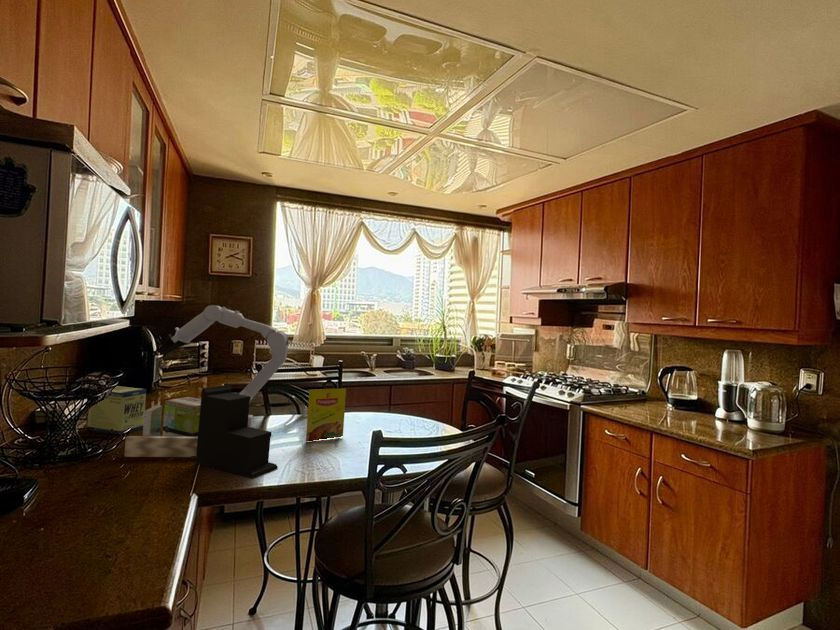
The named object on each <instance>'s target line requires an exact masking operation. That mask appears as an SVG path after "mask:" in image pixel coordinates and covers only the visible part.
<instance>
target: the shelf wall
mask: <svg viewBox="0 0 840 630" xmlns="http://www.w3.org/2000/svg"><path fill="white" fill-rule="evenodd" d="M197 440H198V437H181V436H163V435H160V436H143V435H128V436H126V437H125V443H124V444H125V445H124V457H125V458H129V457H130V458H135V457H136V458H142V457H143V458H192V457H191V456H196V452H197Z"/></svg>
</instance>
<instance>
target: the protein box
mask: <svg viewBox="0 0 840 630" xmlns="http://www.w3.org/2000/svg"><path fill="white" fill-rule="evenodd" d="M115 386H116V387H115V388H114V389H113V390H112V392H111V393H110V394H109V395H108V397H107V398H105V399H104V400H102V401H100V402H98V403H97V404H95V405H93V406H92V407H91V408H90V409H89V408H88V415H87V423H86V425H87V426H86V429H87V428H94V429H96V430H92V431H91V432H96V433H104V434H109V433H110V432H112V435H116V434H117V433H121V432H123V431H125V430H127V429H128V428H130V427H132V429H131V431H130V433H133V432H138V431H140V430H143V425H144V412H145V411H146V399H147V388H140V387H138V388H137V387H136V388H135V387H128V386H119V385H115ZM111 429H113V431H111Z"/></svg>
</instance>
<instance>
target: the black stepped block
mask: <svg viewBox="0 0 840 630" xmlns="http://www.w3.org/2000/svg"><path fill="white" fill-rule="evenodd" d="M200 399H201V406H200V418H199V429H198V440H197V452H196V457H195V463H196V464H199V465H203V466H206V467H210V468H212V469H213V468H214V469H216V470H220V471H223V472H227V473H231V474H234V475H237V476H238V475H239V476H240V477H241V476H242V477H245V478H249V479H255V478H257V477H260V476H263V475H266V474H267V473H270V472H273V471H276V470H278V465H277V463H273V462H270V461H269V460H270V459H269V458H270V457H269V456H270V447H271V446H270V445H271V437H272V431H268V430H264V429H259V428H255V427H253V428H251V427H248V416H249V415H250V414H249V413H250V403H249V401H250V399H251V397H250V396H245V395H240V394H239V393H234V392H233V393H232V385H231V384H226V385H225V384H224V385H217V386H209V387H208V386H207V387H202V388H201V396H200ZM251 400H252V399H251ZM250 402H251V401H250Z"/></svg>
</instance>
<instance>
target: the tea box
mask: <svg viewBox="0 0 840 630" xmlns="http://www.w3.org/2000/svg"><path fill="white" fill-rule="evenodd" d="M200 406H201V398H196V397H191V396H185V397H180V398H173V399H167V400H165V401H164V409H163V411H164V412H163V426H162V436H181V437H198V429H199V418H200Z"/></svg>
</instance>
